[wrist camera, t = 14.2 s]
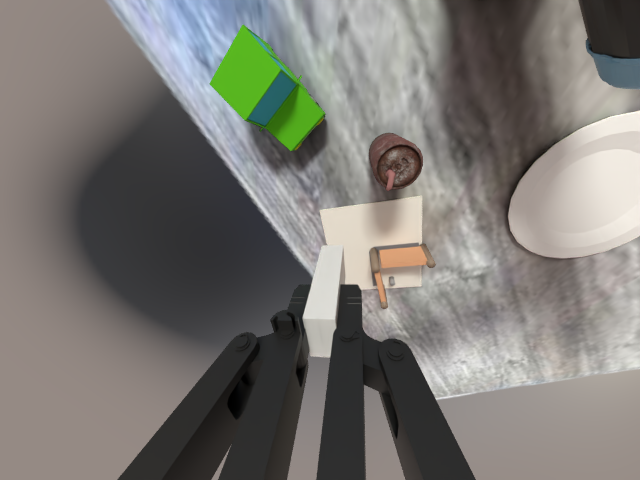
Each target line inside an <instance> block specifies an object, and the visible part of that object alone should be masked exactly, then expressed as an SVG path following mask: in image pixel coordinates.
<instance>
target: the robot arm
mask: <svg viewBox="0 0 640 480" xmlns="http://www.w3.org/2000/svg"><path fill="white" fill-rule="evenodd" d="M579 4H580V8H581V12H582V16H583V20H584V24H585V28H586V32H587V36H588V38H587V40H586V49H587V52H588V53H589V54H590V55H591V56H592V57H593V59H594V62H595V65H596V68H597V71H598V74H599V76H600V78H601V79H602V80H603V81H605V82H607V83H608V84H609V85H612V86H613V87H617V88H622V89H640V0H579ZM345 277H346V276H345V262H344V249H343V245H329V246H322V248H321V251H320V255H319V259H318V263H317V266H316V270H315V274H314V277H313V281H312V285H299V286H298V287H297V288H296V289H295V290H294V293H293V295H292V298H291V301H290V304H289V307H288V309H287V310H283V311H280V312H278V313H276V314H275V315H274V316H273V317H272V318H271V323H272V327H273V330H274V333H272V334H269V335H266V336H262V337H258V338H256V336H255V335H254V334H253V333H249V332H246V333H242V334H240V335H238V336H236V337H235V338H234V339H233V340H232V341H231V342H230V343H229V344H228V346H227V347H226V348H225V349H224V351H223V352H222V353H221V354H220V356H219V357H218V358H217V359H216V360H215V362H214V363H213V364H212V365H211V366H210V368H209V369H208V370H207V371H206V372H205V374H204V375H203V376H202V378H201V379H200V380H199V381H198V382H197V383H196V385H195V386H194V387H193V388H192V390H191V391H190V392H189V393H188V394H187V396H186V397H185V398H184V399H183V400H182V402H181V403H180V404H179V405H178V407H177V408H176V409H175V410H174V411H173V413H172V414H171V415H170V417H169V418H168V419H167V420H166V421H165V422H164V424H163V425H162V426H161V427H160V429H159V430H158V431H157V432H156V433H155V435H154V436H153V437H152V438H151V440H150V441H149V442H148V443H147V444H146V446H145V447H144V448H143V449H142V450H141V452H140V453H139V454H138V455H137V457H136V458H135V459H134V460H133V462H132V463H131V464H130V465H129V466H128V467H127V469H126V470H125V471H124V473H123V474H122V475H121V476H120V477H119V479H118V480H211V479H212V477H213V476H214V474H215V472H216V470H217V468H218V467H219V465H220V463H221V461H222V460H223V458H224V456H225V455H226V453H227V451H228V449H229V447H230V446H231V447H230V450H229V453H228V455H227V458H226V461H225V463H224V466H223V468H222V471H221V474H220V476H219V479H218V480H287V476H288V471H289V466H290V461H291V455H292V450H293V445H294V440H295V434H296V429H297V424H298V419H299V414H300V408H301V403H302V398H303V393H304V387H305V382H306V377H307V372H308V360H307V358H308V353H309V352H310V356H315V357H330V365H329V374H328V383H327V391H326V401H325V409H324V417H323V426H322V435H321V444H320V452H319V453H320V454H319V461H318V471H317V479H316V480H366V469H365V467H366V466H365V424H364V423H365V419H364V385H366V386H368V387H371V388H373V389H375V390H377V391H379V394H380V397H381V400H382V404H383V407H384V410H385V414H386V417H387V420H388V423H389V427H390V430H391V433H392V437H393V440H394V443H395V446H396V449H397V453H398V456H399V459H400V463H401V466H402V470H403V473H404V476H405V479H406V480H476V479H475V477H474V475H473V473H472V471H471V469H470V467H469V465H468V463H467V461H466V459H465V458H464V455H463V453H462V451H461V449H460V447H459V445H458V443H457V441H456V439H455V437H454V435H453V433H452V431H451V429H450V427H449V425H448V423H447V421H446V419H445V417H444V415H443V413H442V411H441V409H440V408H439V405H438V403H437V401H436V399H435V397H434V395H433V393H432V391H431V389H430V387H429V385H428V383H427V381H426V379H425V377H424V375H423V373H422V371H421V369H420V367H419V365H418V363H417V361H416V359H415V357H414V355H413V353H412V351H411V349H410V348H409V347H408V345H407V344H405V343H404V342H402V341H401V340H398V339H387V340H384V341H383V342H380V341H377V340H374V339H372V338H370V337H369V336H368V335H367V334H366V333H365V332H364V330H363V327H362V295H361V289H360V287H359V286H358V284H345ZM231 444H232V445H231Z"/></svg>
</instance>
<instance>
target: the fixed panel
mask: <svg viewBox="0 0 640 480" xmlns="http://www.w3.org/2000/svg"><path fill="white" fill-rule="evenodd" d="M379 254H380V260H381V266H382V268H390V267H403V266H416V265H427V266H428V267H429V268H433V267H435V265H436V264H435V262H434V260H433V258H432V256H431V254H430V252H429V250H428V248H427V246H426V245H425V244H420V245H419V246H418V247H407V248H397V249H386V250H379ZM370 259H371V270H372V272H374V273H378V272H379V271H380V266H379V259H378V252H377V249H376V248H371V249H370Z"/></svg>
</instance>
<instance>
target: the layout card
mask: <svg viewBox="0 0 640 480" xmlns="http://www.w3.org/2000/svg"><path fill="white" fill-rule="evenodd" d="M320 214H321V219H322V223H323V228H324V233H325V237H326V242H327V246H329V245H343V249H344V262H345V276H346V277H345V284H358V286H359V287H360V289H361V290H367V289H378V286H377V282H376V278H375V274H374V272H372V270H371V259H370V249H371V248H376V249H377V252H378V259H379V266H380V272H381V276H382V281H383V284H384V285H385V288H403V287H420V286H421V283H422V265H416V266H403V267H390V268H382V266H381V260H380V254H379V250H386V249H397V248H407V247H418V246H419V245H420V244H422V196H416V197H409V198H402V199H395V200H388V201H380V202H373V203H366V204H359V205H352V206H345V207H338V208H331V209H323V210H320Z"/></svg>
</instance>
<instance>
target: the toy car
mask: <svg viewBox="0 0 640 480" xmlns="http://www.w3.org/2000/svg"><path fill="white" fill-rule="evenodd" d="M301 78H302V75H301V76H300V77H299V79H297V78H296V76H295V75H294V74H293V73H292V72H291V70H290V69H289V68H288V67H287V66H286V65H285V64H284V63H283V62H282V60H281V59H280V58H279V57H278V56H277V55H276V54H275V53H274V52H273V49H272V48H271V47H270V46H269V44H267V43H266V42H265V41H263V40H262V39H261V38H260V37H258V36H257V35H256V34H255V33H253V32H252V31H251V30H249V29H248V28H247V27H246V26H244V25H242V27H241V29H240V30H239V32H238V34H237V36H236V38H235V39H234V41H233V43H232V45H231V46H230V48H229V50H228V52H227V54H226V55H225V57H224V59H223V61H222V62H221V64H220V66H219V68H218V70H217V71H216V73H215V75H214V77H213V78H212V80H211V82H210V85H211V86H212V87H213V88H214V89H215V90H216V91H217V92H218V93H219V94H220V95H221V96H222V97H223V98H224V99H225V101H226V102H227V103H228V104H229V105H230V106H231V107H232V108H233V109H234V110H235V111H236V112H237V113H238V114H239V115H240V116H241V117H242V118H243V119H244V120H245V121H247V122H250V123H253V124H255V125H258V126H260V127H262V128H261V129H260V130H259V131H260V132H261V131H262V130H263V128H266V129H267V130H268V131H269V132H270V133H271V134H272V135H274V136H275V137H276V138H277V139H278V140H279V141H280V142H281V143H282V144H283V145H285V146H286V147H287V148H288V149H289V150H290V151H292V150H293V151H294V150H297V149H298V147H299V146H300V145H301V143H302V142H303V141H304V140H305V139H306V138H307V136H308V135H309V134H310V133H311V132H312V131H313V130H314V129H315V127H316V126H317V125H319V124H320V123H321V122H322V120H323V118H324V117H325V112H324V111H323V110H322V109H321V107H320V106H319V105H318V103H317V102H316V101H315V99H314V98H313V97H312V96H311V95H310V94H309V93H308V92H307V89H306V88H305V87H304V86H303V85H302V83H301V82H300V79H301Z"/></svg>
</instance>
